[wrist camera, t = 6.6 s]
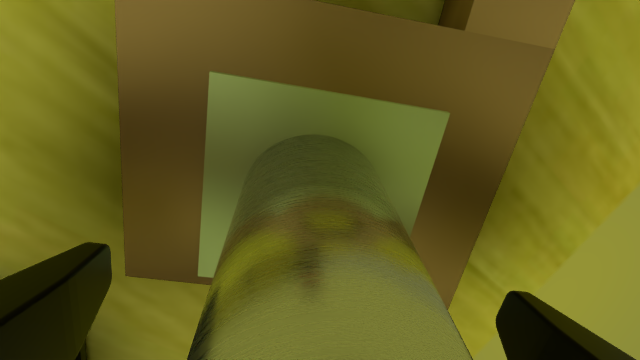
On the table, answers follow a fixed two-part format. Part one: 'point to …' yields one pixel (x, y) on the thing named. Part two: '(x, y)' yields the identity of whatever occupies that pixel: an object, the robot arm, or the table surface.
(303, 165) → the clear glass jar
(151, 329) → the table surface
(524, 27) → the pocket block
